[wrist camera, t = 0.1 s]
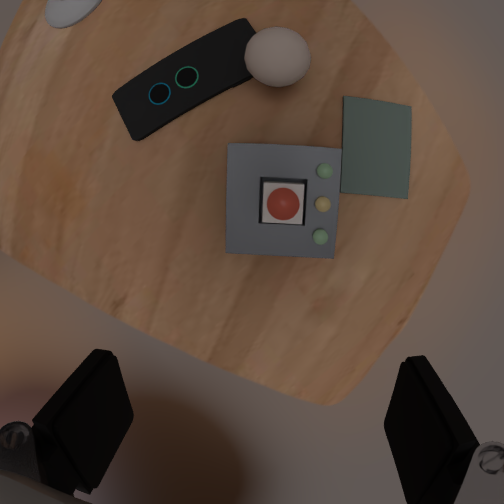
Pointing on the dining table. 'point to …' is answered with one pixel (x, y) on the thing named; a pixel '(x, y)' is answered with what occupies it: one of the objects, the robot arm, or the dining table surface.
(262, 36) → the light bulb
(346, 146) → the mat
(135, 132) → the smart home device
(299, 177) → the grey button control box
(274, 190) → the button
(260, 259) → the dining table surface
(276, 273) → the dining table surface
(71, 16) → the candlestick
